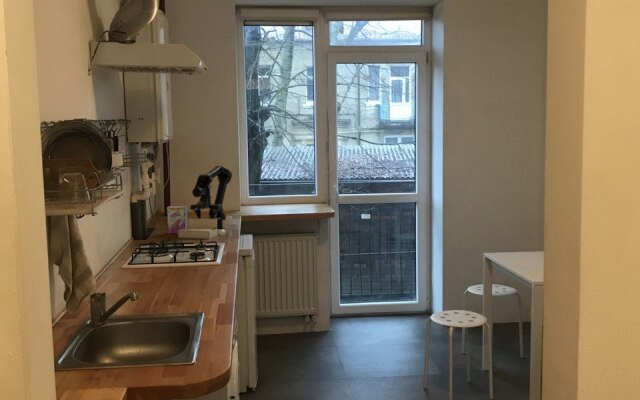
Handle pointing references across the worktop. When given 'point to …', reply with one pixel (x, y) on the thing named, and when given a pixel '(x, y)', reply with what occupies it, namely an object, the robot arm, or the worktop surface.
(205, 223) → the flap
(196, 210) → the robot arm
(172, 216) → the candy bar box
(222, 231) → the cream dish
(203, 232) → the small cream bookshelf
